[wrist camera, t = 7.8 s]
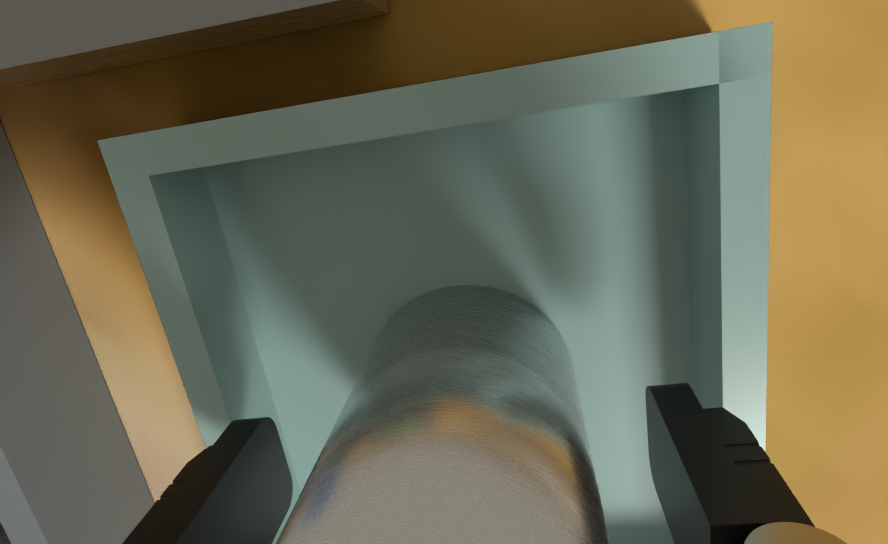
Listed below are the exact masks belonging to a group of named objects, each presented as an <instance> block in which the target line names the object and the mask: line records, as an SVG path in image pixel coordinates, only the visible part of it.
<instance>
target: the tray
mask: <svg viewBox="0 0 888 544" xmlns="http://www.w3.org/2000/svg"><path fill="white" fill-rule="evenodd" d="M772 27H773V22H769V23H764V24H758V25H752V26H746V27H740V28H735V29H729V30H723V31H717V32H711V33H706V34H700V35H694V36H689V37H683V38H677V39H672V40H666V41H660V42H654V43H649V44H643V45H637V46H632V47H626V48H620V49H615V50H609V51H603V52H597V53H592V54H586V55H580V56H575V57H569V58H563V59H558V60H552V61H546V62H540V63H535V64H529V65H523V66H518V67H512V68H506V69H501V70H495V71H489V72H483V73H478V74H472V75H466V76H461V77H455V78H449V79H444V80H438V81H432V82H426V83H421V84H415V85H409V86H404V87H398V88H392V89H387V90H381V91H375V92H369V93H364V94H358V95H352V96H347V97H341V98H335V99H330V100H324V101H318V102H312V103H307V104H301V105H295V106H290V107H284V108H278V109H273V110H267V111H261V112H255V113H250V114H244V115H238V116H233V117H227V118H221V119H216V120H210V121H204V122H198V123H193V124H187V125H181V126H176V127H170V128H164V129H159V130H153V131H147V132H142V133H136V134H130V135H125V136H119V137H113V138H108V139H102V140H97V142H98V144H99V147H100V150H101V153H102V156H103V159H104V161H105V164H106V167H107V170H108V173H109V175H110V178H111V181H112V184H113V187H114V190H115V192H116V195H117V198H118V201H119V204H120V207H121V209H122V212H123V215H124V218H125V221H126V224H127V226H128V229H129V232H130V235H131V238H132V240H133V243H134V246H135V249H136V252H137V255H138V257H139V260H140V263H141V266H142V269H143V272H144V274H145V277H146V280H147V283H148V286H149V289H150V291H151V294H152V297H153V300H154V303H155V305H156V308H157V311H158V314H159V317H160V320H161V322H162V325H163V328H164V331H165V334H166V337H167V339H168V342H169V345H170V348H171V351H172V354H173V356H174V359H175V362H176V365H177V368H178V370H179V373H180V376H181V379H182V382H183V385H184V387H185V390H186V393H187V396H188V399H189V402H190V404H191V407H192V410H193V413H194V416H195V419H196V421H197V424H198V427H199V430H200V433H201V435H202V438H203V441H204V444H205V447H206V448H207V447H209V446H212V445H213V444H214V443H215V442H216V441H217V439H218V438H219V437H220V435H221V434H222V433H223V432H224V430H225V429H226V428H227V426H228V425H229V424H230V423H231V422H232V421H233V420H238V419H250V418H262V417H270V418H271V419H273V421H274V422H275V424H276V427H277V430H278V433H279V436H280V440H281V443H282V446H283V450H284V453H285V456H286V460H287V463H288V466H289V470H290V473H291V477H292V482H293V495H292V501H291V505H290V508H289V510H288V512H287V514H286V516H285V518H284V520H283V522H282V524H281V526H280V528H279V530H278V532H277V534H276V536H275V538H274V540H273V542H272V544H276V542H277V540H278V538H279V536H280V534H281V532H282V530H283V528H284V526H285V524H286V522H287V520H288V518H289V516H290V514H291V512H292V510H293V508H294V506H295V504H296V502H297V500H298V498H299V496H300V494H301V492H302V490H303V488H304V486H305V483H306V481H307V479H308V477H309V475H310V473H311V471H312V469H313V467H314V465H315V463H316V461H317V459H318V457H319V455H320V453H321V451H322V449H323V447H324V445H325V443H326V441H327V439H328V437H329V435H330V433H331V431H332V429H333V427H334V425H335V423H336V421H337V419H338V417H339V415H340V413H341V411H342V409H343V407H344V405H345V403H346V401H347V399H348V397H349V395H350V392H351V390H352V388H353V386H354V384H355V382H356V380H357V378H358V376H359V374H360V372H361V370H362V368H363V366H364V364H365V362H366V360H367V358H368V356H369V354H370V352H371V350H372V348H373V346H374V344H375V342H376V340H377V338H378V336H379V334H380V332H381V330H382V329H383V327H384V326H385V324H386V323H387V322H388V320H389V319H390V318H391V317H392V316H393V315H394V314H395V313H396V312H397V311H398V310H399V309H400V308H401V307H403V306H404V305H405V304H407V303H408V302H410V301H411V300H413V299H415V298H416V297H418V296H421V295H423V294H425V293H427V292H430V291H433V290H436V289H439V288H444V287H450V286H458V285H477V286H486V287H491V288H496V289H499V290H502V291H505V292H509V293H511V294H513V295H515V296H518V297H520V298H522V299H524V300H525V301H527V302H529V303H530V304H532V305H533V306H535V307H536V308H537V309H538V310H540V311H541V312H542V313H543V314H545V315H546V316H547V318H548V319H549V320H550V321H551V322H552V323H553V324H554V325H555V326H556V328H557V329H558V331H559V332H560V334H561V335H562V337H563V339H564V341H565V343H566V345H567V347H568V349H569V352H570V355H571V358H572V362H573V367H574V372H575V377H576V382H577V387H578V391H579V396H580V401H581V406H582V411H583V416H584V420H585V425H586V430H587V435H588V440H589V445H590V450H591V454H592V459H593V464H594V469H595V474H596V479H597V483H598V488H599V493H600V498H601V503H602V508H603V512H604V517H605V522H606V527H607V532H608V537H609V542H610V544H674V541H673V538H672V535H671V532H670V529H669V527H668V524H667V521H666V518H665V515H664V512H663V509H662V507H661V504H660V501H659V498H658V495H657V492H656V489H655V486H654V482H653V478H652V473H651V468H650V461H649V450H648V433H647V415H646V396H645V393H646V387H647V386H654V385H666V384H678V383H688V384H689V385H690V387H691V389H692V390H693V392H694V394H695V396H696V397H697V399H698V401H699V403H700V404H701V406H702V408H703V409H705V408H718V407H723V408H725V409H726V410H728V411H729V412H730V413H732V414H733V415H735V416H736V417H738V418H739V419H741V420H742V421H744V422H745V423H746V424H747V425H748V427H749V428H750V430H751V431H752V433H753V434H754V436H755V437H756V439H757V440H758V442H759V446H760V447H762V448H763V449H764V451H765V440H766V381H767V322H768V263H769V204H770V145H771V86H772Z"/></svg>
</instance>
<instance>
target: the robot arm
mask: <svg viewBox="0 0 888 544" xmlns="http://www.w3.org/2000/svg"><path fill="white" fill-rule="evenodd" d="M645 396H646V415H647V433H648V450H649V461H650V468H651V473H652V478H653V482H654V486H655V489H656V492H657V495H658V498H659V501H660V504H661V507H662V509H663V512H664V515H665V518H666V521H667V524H668V527H669V529H670V532H671V535H672V538H673V541H674V544H847V543H845V542H844V541H842V540H841V539H839V538H838V537H836V536H834V535H832V534H830V533H828V532H826V531H824V530H821V529H819V528H816V527H815V526H814V525H813V523H812V522H811V520H810V519H809V517H808V516H807V514H806V513H805V511H804V510H803V508H802V507H801V505H800V504H799V502H798V501H797V499H796V498H795V496H794V495H793V493H792V492H791V490H790V489H789V487H788V486H787V484H786V482H785V481H784V479H783V478H782V476H781V475H780V473H779V472H778V470H777V469H776V467H775V466H774V464H771V462H770V458H769V457H768V455H767V454H766V452H765V451H764V449H763V448H762V447H760V446H759V442H758V440H757V439H756V437H755V436H754V434H753V433H752V431H751V430H750V428H749V427H748V425H747V424H746V423H745V422H744V421H742V420H741V419H739V418H738V417H736V416H735V415H733V414H732V413H730V412H729V411H728V410H726V409H725V408H723V407H718V408H705V409H703V408H702V406H701V404H700V403H699V401H698V399H697V397H696V396H695V394H694V392H693V390H692V389H691V387H690V385H689V384H688V383H678V384H666V385H654V386H647V387H646V393H645ZM292 495H293V482H292V477H291V473H290V470H289V466H288V463H287V460H286V456H285V453H284V450H283V446H282V443H281V440H280V436H279V433H278V430H277V427H276V424H275V422H274V421H273V419H271V418H270V417H262V418H250V419H238V420H233V421H232V422H231V423H230V424H229V425H228V426H227V428H226V429H225V430H224V432H223V433H222V434H221V435H220V437H219V438H218V439H217V441H216V442H215V443H214V444H213V445H212V446H209V447H207V448H206V449H205V450H203V451H202V452H201V453H199V454H198V455H197V456H196V457H194V458H193V459H192V460H190V461H189V462H188V463H187V464H186V465H185V466H184V468H183V469H182V470H181V471H180V473H179V474H178V475H177V476H176V478H175V479H174V480H173V484H172V485H169V486H168V488H167V489H166V490H165V491H164V492H163V494H162V495H161V496H160V497H161V499H160V500H157V501H156V502H155V504H154V505H153V506H152V507H151V509H150V510H149V511H148V512H147V513H146V515H145V516H144V517H143V518H142V520H141V521H140V522H139V523H138V525H137V526H136V527H135V528H134V530H133V531H132V532H131V533H130V535H129V536H128V537H127V538H126V539H125V541H124V542H123V543H122V544H272V542H273V540H274V538H275V536H276V534H277V532H278V530H279V528H280V526H281V524H282V522H283V520H284V518H285V516H286V514H287V512H288V510H289V508H290V505H291V501H292Z"/></svg>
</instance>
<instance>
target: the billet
mask: <svg viewBox="0 0 888 544" xmlns="http://www.w3.org/2000/svg"><path fill="white" fill-rule="evenodd" d="M276 544H610V542H609V537H608V532H607V527H606V522H605V517H604V512H603V508H602V503H601V498H600V493H599V488H598V483H597V479H596V474H595V469H594V464H593V459H592V454H591V450H590V445H589V440H588V435H587V430H586V425H585V420H584V416H583V411H582V406H581V401H580V396H579V391H578V387H577V382H576V377H575V372H574V367H573V362H572V358H571V355H570V352H569V349H568V347H567V345H566V343H565V341H564V339H563V337H562V335H561V334H560V332H559V331H558V329H557V328H556V326H555V325H554V324H553V323H552V322H551V321H550V320H549V319H548V318H547V316H546V315H545V314H543V313H542V312H541V311H540V310H538V309H537V308H536V307H535V306H533V305H532V304H530V303H529V302H527V301H525V300H524V299H522V298H520V297H518V296H515V295H513V294H511V293H509V292H505V291H502V290H499V289H496V288H491V287H486V286H477V285H458V286H450V287H444V288H439V289H436V290H433V291H430V292H427V293H425V294H423V295H421V296H418V297H416V298H415V299H413V300H411V301H410V302H408V303H407V304H405V305H404V306H403V307H401V308H400V309H399V310H398V311H397V312H396V313H395V314H394V315H393V316H392V317H391V318H390V319H389V320H388V322H387V323H386V324H385V326H384V327H383V329H382V330H381V332H380V334H379V336H378V338H377V340H376V342H375V344H374V346H373V348H372V350H371V352H370V354H369V356H368V358H367V360H366V362H365V364H364V366H363V368H362V370H361V372H360V374H359V376H358V378H357V380H356V382H355V384H354V386H353V388H352V390H351V392H350V395H349V397H348V399H347V401H346V403H345V405H344V407H343V409H342V411H341V413H340V415H339V417H338V419H337V421H336V423H335V425H334V427H333V429H332V431H331V433H330V435H329V437H328V439H327V441H326V443H325V445H324V447H323V449H322V451H321V453H320V455H319V457H318V459H317V461H316V463H315V465H314V467H313V469H312V471H311V473H310V475H309V477H308V479H307V481H306V483H305V486H304V488H303V490H302V492H301V494H300V496H299V498H298V500H297V502H296V504H295V506H294V508H293V510H292V512H291V514H290V516H289V518H288V520H287V522H286V524H285V526H284V528H283V530H282V532H281V534H280V536H279V538H278V540H277V542H276Z"/></svg>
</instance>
